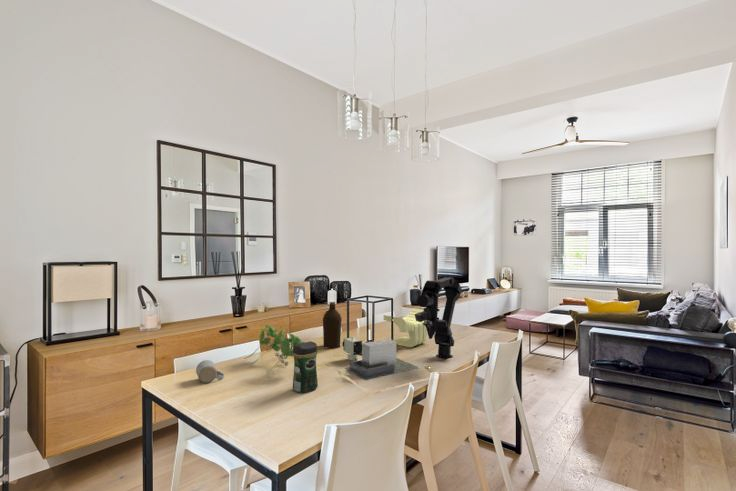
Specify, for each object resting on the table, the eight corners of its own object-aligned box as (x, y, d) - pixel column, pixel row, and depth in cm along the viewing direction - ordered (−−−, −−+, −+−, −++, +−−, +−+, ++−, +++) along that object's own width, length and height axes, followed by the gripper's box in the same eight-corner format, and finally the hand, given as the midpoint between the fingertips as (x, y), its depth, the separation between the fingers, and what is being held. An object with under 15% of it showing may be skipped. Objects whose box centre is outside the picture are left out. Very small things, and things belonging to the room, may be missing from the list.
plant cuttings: (285, 396, 156) (321, 356, 168) (263, 369, 150) (301, 330, 161) (252, 373, 183) (284, 341, 194) (231, 350, 176) (266, 317, 188)
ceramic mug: (198, 385, 150) (199, 366, 150) (195, 379, 157) (196, 361, 157) (225, 381, 155) (226, 362, 155) (221, 375, 162) (222, 357, 162)
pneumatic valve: (355, 365, 176) (356, 340, 176) (341, 359, 185) (342, 335, 185) (364, 363, 180) (365, 338, 180) (350, 357, 189) (350, 334, 189)
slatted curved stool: (406, 351, 201) (406, 318, 201) (383, 346, 211) (383, 315, 211) (434, 341, 224) (434, 311, 224) (412, 336, 234) (412, 308, 234)
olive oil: (342, 348, 205) (342, 303, 205) (322, 349, 204) (323, 304, 204) (340, 343, 216) (340, 300, 216) (322, 344, 214) (322, 301, 214)
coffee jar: (309, 383, 153) (309, 338, 153) (320, 388, 148) (321, 342, 148) (288, 389, 146) (289, 342, 146) (300, 395, 141) (300, 346, 141)
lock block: (389, 363, 176) (389, 338, 176) (396, 367, 171) (397, 341, 171) (361, 369, 168) (362, 343, 168) (369, 373, 163) (369, 346, 163)
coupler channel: (395, 359, 186) (396, 351, 186) (419, 369, 171) (419, 361, 171) (344, 370, 170) (344, 361, 170) (365, 382, 155) (365, 373, 155)
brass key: (424, 368, 173) (424, 366, 173) (430, 368, 173) (430, 366, 173) (429, 374, 165) (429, 371, 165) (436, 374, 166) (436, 371, 166)
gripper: (408, 304, 186) (406, 335, 185) (427, 308, 168) (426, 342, 167) (427, 304, 190) (425, 335, 189) (448, 308, 173) (446, 342, 172)
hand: (430, 338), depth 179 cm, fingers closed
